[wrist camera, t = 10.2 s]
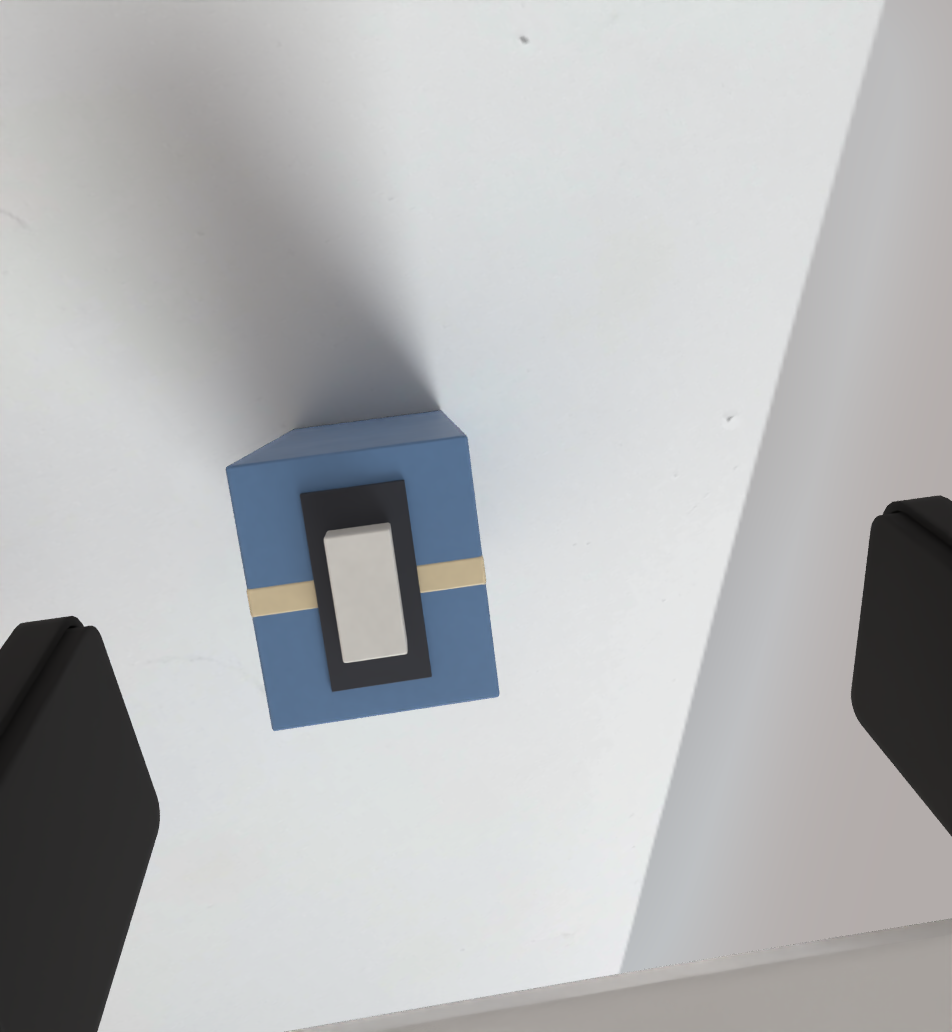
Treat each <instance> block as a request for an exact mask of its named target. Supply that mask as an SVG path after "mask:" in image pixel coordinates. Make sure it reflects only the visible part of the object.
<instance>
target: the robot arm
mask: <svg viewBox="0 0 952 1032" xmlns="http://www.w3.org/2000/svg"><path fill="white" fill-rule="evenodd" d="M851 700H852V706H853V709H854V712H855V715H856V717H857V719H858V720H859V722H860V723H861V725H862V726H863V727H864V728H865V730H866V731H867V732H868V733H869V735H870V736H871V737H872V738H873V740H874V741H875V742H876V743H877V745H878V746H879V747H880V748H881V749H882V751H883V752H884V753H885V755H886V756H887V757H888V758H889V759H890V761H891V762H892V763H893V764H894V766H895V767H896V768H897V769H898V770H899V772H900V773H901V774H902V776H903V777H904V778H905V779H906V780H907V781H908V783H909V784H910V785H911V787H912V788H913V789H914V790H915V791H916V793H917V794H918V795H919V797H920V798H921V799H922V800H923V801H924V803H925V804H926V805H927V806H928V807H929V809H930V810H931V811H932V813H933V814H934V815H935V816H936V817H937V819H938V820H939V821H940V822H941V824H942V825H943V826H944V827H945V829H946V830H947V831H948V832H949V834H950V835H951V836H952V501H951V500H949V499H948V498H945V497H943V496H932V497H925V498H917V499H911V500H903V501H896V502H892V503H891V504H889V505H888V506H887V507H886V509H885V511H884V513H883V515H880V516H877V517H876V518H875V519H874V521H873V523H872V526H871V531H870V539H869V548H868V556H867V564H866V573H865V581H864V590H863V598H862V606H861V614H860V623H859V631H858V640H857V648H856V656H855V664H854V672H853V681H852V689H851ZM159 822H160V810H159V802H158V799H157V795H156V792H155V789H154V787H153V784H152V781H151V778H150V775H149V772H148V769H147V767H146V764H145V761H144V758H143V755H142V752H141V749H140V746H139V744H138V741H137V738H136V735H135V732H134V729H133V726H132V723H131V721H130V718H129V715H128V712H127V709H126V706H125V703H124V700H123V698H122V695H121V692H120V689H119V686H118V683H117V680H116V677H115V675H114V672H113V669H112V666H111V663H110V660H109V657H108V654H107V652H106V649H105V646H104V643H103V640H102V637H101V635H100V633H99V631H98V630H97V629H96V627H94V626H86V627H84V626H83V624H82V623H81V622H80V621H79V619H78V618H76V617H74V616H68V617H61V618H54V619H47V620H40V621H32V622H25V623H20V624H19V625H18V626H17V627H16V628H15V629H14V631H13V632H12V634H11V635H10V636H9V638H8V639H7V641H6V642H5V643H4V645H3V646H2V648H1V649H0V1032H97V1031H98V1027H99V1024H100V1021H101V1018H102V1014H103V1011H104V1008H105V1004H106V1001H107V998H108V995H109V991H110V988H111V985H112V981H113V978H114V975H115V972H116V968H117V965H118V962H119V958H120V955H121V952H122V949H123V945H124V942H125V939H126V935H127V932H128V929H129V926H130V922H131V919H132V916H133V912H134V909H135V906H136V903H137V899H138V896H139V893H140V889H141V886H142V883H143V880H144V876H145V873H146V870H147V866H148V863H149V860H150V857H151V853H152V850H153V847H154V843H155V840H156V837H157V834H158V829H159ZM286 1032H952V919H946V920H940V921H934V922H927V923H922V924H915V925H909V926H904V927H897V928H891V929H885V930H878V931H872V932H866V933H861V934H854V935H848V936H842V937H836V938H829V939H824V940H817V941H811V942H805V943H799V944H793V945H788V946H781V947H776V948H770V949H763V950H758V951H752V952H746V953H740V954H734V955H728V956H722V957H717V958H710V959H705V960H699V961H692V962H687V963H681V964H675V965H669V966H663V967H657V968H651V969H645V970H640V971H633V972H627V973H621V974H615V975H609V976H604V977H598V978H592V979H586V980H580V981H574V982H568V983H563V984H557V985H551V986H545V987H539V988H533V989H527V990H521V991H516V992H510V993H504V994H498V995H492V996H486V997H480V998H475V999H469V1000H463V1001H457V1002H451V1003H446V1004H440V1005H434V1006H429V1007H423V1008H417V1009H412V1010H406V1011H400V1012H394V1013H389V1014H383V1015H377V1016H372V1017H366V1018H360V1019H355V1020H349V1021H343V1022H337V1023H332V1024H326V1025H320V1026H315V1027H309V1028H303V1029H298V1030H292V1031H286Z"/></svg>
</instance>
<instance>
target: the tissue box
mask: <svg viewBox="0 0 952 1032" xmlns="http://www.w3.org/2000/svg"><path fill="white" fill-rule="evenodd" d="M226 473H227V479H228V485H229V490H230V496H231V501H232V507H233V512H234V518H235V524H236V529H237V535H238V540H239V546H240V551H241V557H242V563H243V568H244V574H245V579H246V585H247V596H248V601H249V607H250V613H251V616H252V618H253V624H254V630H255V635H256V641H257V646H258V652H259V657H260V663H261V669H262V674H263V680H264V685H265V691H266V697H267V702H268V708H269V713H270V719H271V724H272V729H273V730H274V731H277V730H284V729H291V728H297V727H304V726H310V725H317V724H323V723H330V722H337V721H343V720H350V719H356V718H363V717H369V716H376V715H383V714H389V713H396V712H402V711H409V710H415V709H422V708H429V707H435V706H442V705H448V704H455V703H461V702H468V701H475V700H481V699H488V698H494V697H498V696H499V686H498V678H497V670H496V662H495V654H494V646H493V638H492V630H491V622H490V614H489V606H488V598H487V590H486V575H485V567H484V559H483V556H482V550H481V542H480V534H479V526H478V518H477V510H476V502H475V494H474V486H473V478H472V470H471V462H470V454H469V446H468V438H467V436H466V435H465V434H464V433H463V432H462V431H461V430H460V429H459V428H458V427H457V426H456V425H455V424H454V423H453V422H452V421H451V420H450V419H449V418H448V417H447V416H446V415H445V414H444V413H443V412H442V411H441V410H439V411H431V412H424V413H416V414H408V415H400V416H393V417H385V418H377V419H369V420H362V421H354V422H346V423H338V424H331V425H323V426H315V427H307V428H300V429H293V430H292V431H290V432H288V433H286V434H285V435H283V436H281V437H279V438H277V439H276V440H274V441H272V442H270V443H268V444H267V445H265V446H263V447H261V448H259V449H258V450H256V451H254V452H252V453H251V454H249V455H247V456H245V457H243V458H242V459H240V460H238V461H236V462H234V463H233V464H231V465H229V466H227V467H226Z"/></svg>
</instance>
